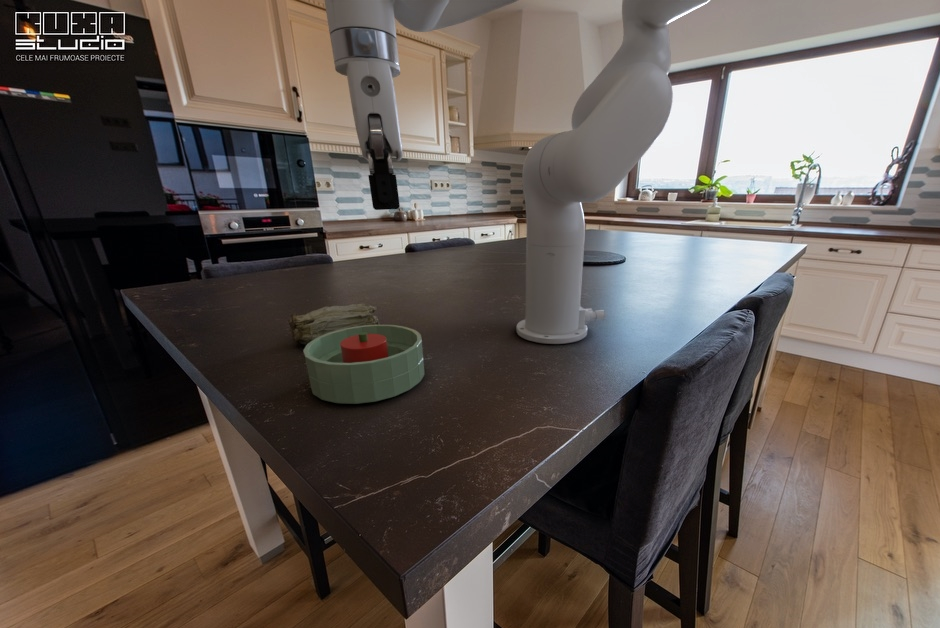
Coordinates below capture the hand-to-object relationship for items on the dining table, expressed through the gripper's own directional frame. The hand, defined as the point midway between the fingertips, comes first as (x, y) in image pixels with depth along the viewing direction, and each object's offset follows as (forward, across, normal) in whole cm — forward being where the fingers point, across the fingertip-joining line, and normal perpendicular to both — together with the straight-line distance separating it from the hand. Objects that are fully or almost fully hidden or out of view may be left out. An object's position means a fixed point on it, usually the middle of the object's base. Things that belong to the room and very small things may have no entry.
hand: (386, 207), depth 54 cm
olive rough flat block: (+22, +11, +11) cm, 27 cm away
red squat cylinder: (+21, -8, +5) cm, 23 cm away
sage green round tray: (+21, -8, +5) cm, 24 cm away
